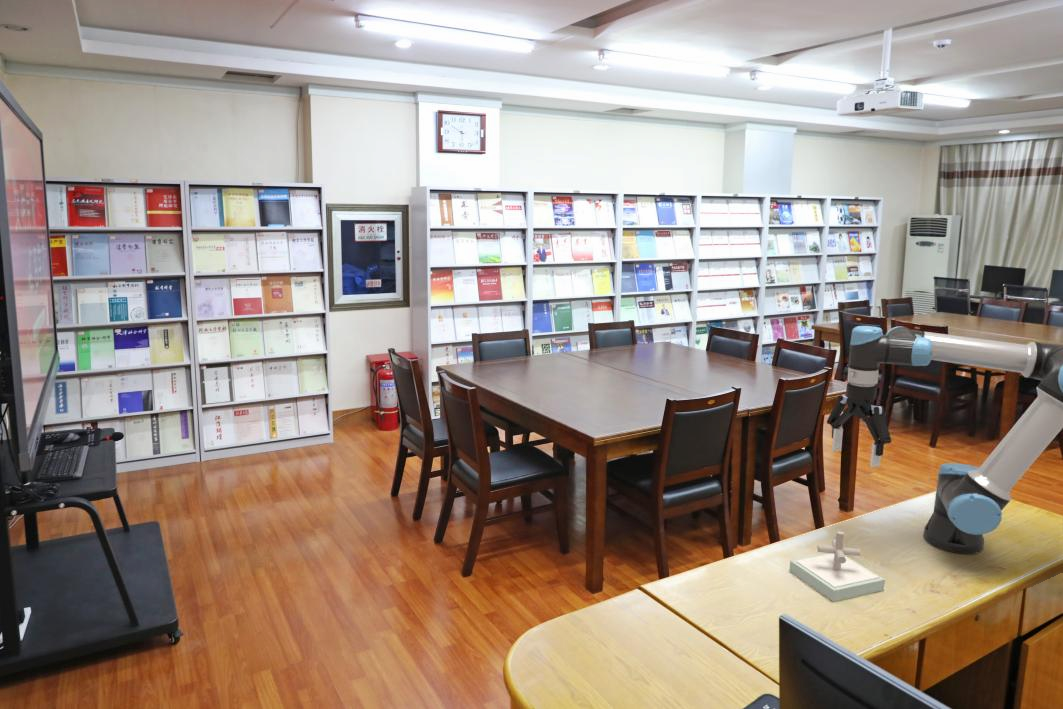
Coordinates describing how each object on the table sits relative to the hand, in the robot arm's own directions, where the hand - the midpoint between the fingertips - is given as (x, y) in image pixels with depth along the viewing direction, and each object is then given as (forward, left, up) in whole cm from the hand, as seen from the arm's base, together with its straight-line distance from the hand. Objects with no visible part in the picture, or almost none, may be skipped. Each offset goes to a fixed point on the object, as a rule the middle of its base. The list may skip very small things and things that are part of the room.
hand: (855, 458), depth 205 cm
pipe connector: (+17, +15, -23) cm, 32 cm away
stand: (+17, +15, -26) cm, 34 cm away
